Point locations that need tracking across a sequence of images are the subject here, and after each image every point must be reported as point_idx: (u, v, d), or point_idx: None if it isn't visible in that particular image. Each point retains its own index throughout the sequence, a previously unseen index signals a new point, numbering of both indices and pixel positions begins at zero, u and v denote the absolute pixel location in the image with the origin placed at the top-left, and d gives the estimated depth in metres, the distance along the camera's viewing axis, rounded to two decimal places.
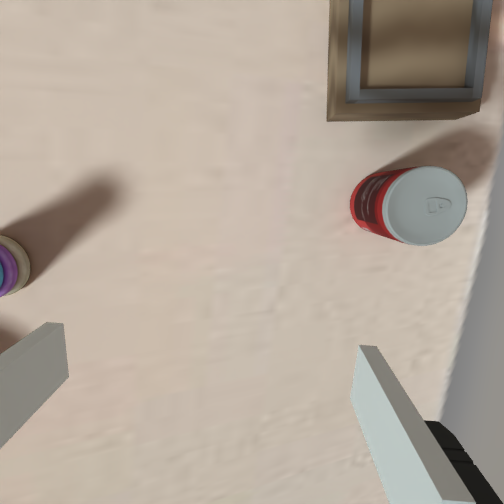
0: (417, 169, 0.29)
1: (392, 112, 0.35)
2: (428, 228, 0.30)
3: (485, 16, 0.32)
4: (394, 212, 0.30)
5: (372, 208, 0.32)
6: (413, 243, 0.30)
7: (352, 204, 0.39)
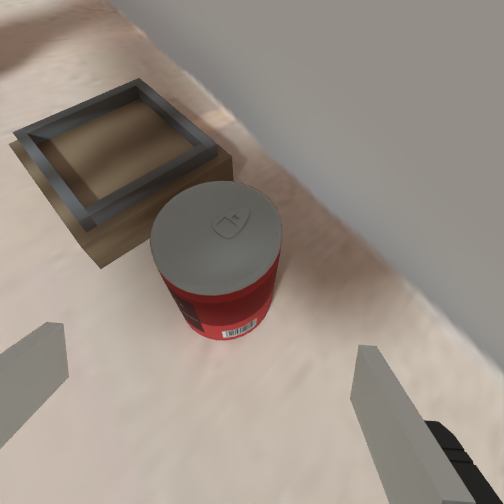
0: (167, 204, 0.19)
1: (147, 207, 0.28)
2: (247, 250, 0.18)
3: (166, 107, 0.32)
4: (181, 265, 0.17)
5: (171, 292, 0.19)
6: (242, 280, 0.17)
7: (187, 321, 0.25)
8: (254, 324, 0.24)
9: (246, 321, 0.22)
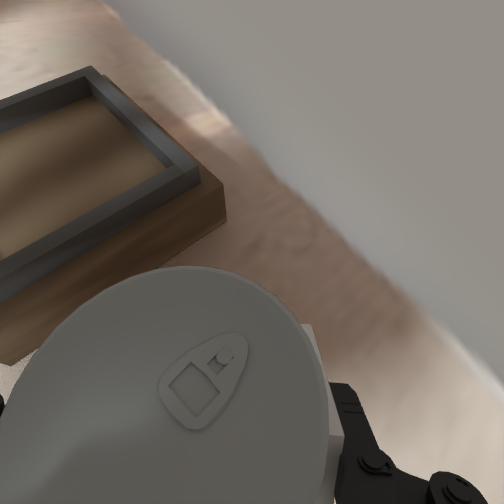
0: (56, 330, 0.08)
1: (82, 271, 0.17)
2: (242, 469, 0.07)
3: (126, 107, 0.22)
4: None
5: None
6: None
7: None
8: None
9: None
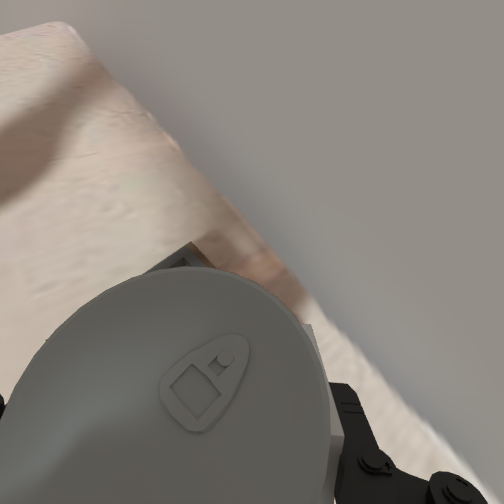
0: (57, 332, 0.08)
1: None
2: (243, 471, 0.07)
3: None
4: None
5: None
6: None
7: None
8: None
9: None
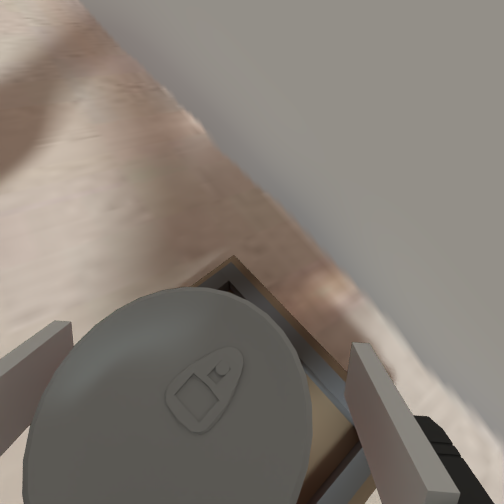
0: (76, 347, 0.09)
1: None
2: (238, 465, 0.08)
3: (289, 335, 0.19)
4: None
5: None
6: None
7: None
8: None
9: None
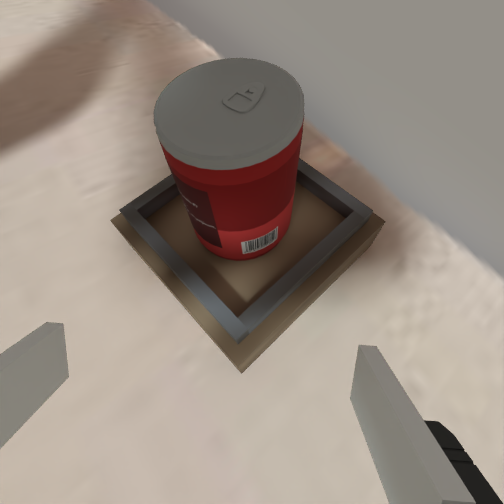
0: (169, 84, 0.17)
1: (302, 302, 0.22)
2: (265, 122, 0.16)
3: None
4: (192, 141, 0.15)
5: (182, 185, 0.17)
6: (263, 147, 0.14)
7: (202, 240, 0.23)
8: (275, 237, 0.22)
9: (267, 227, 0.20)
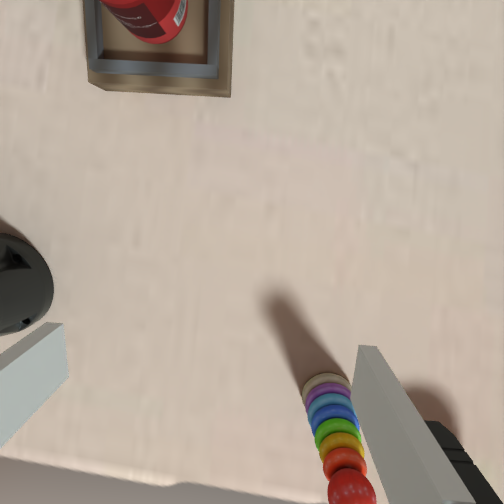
0: None
1: (228, 25, 0.34)
2: None
3: None
4: None
5: (126, 11, 0.27)
6: None
7: (151, 40, 0.33)
8: None
9: None
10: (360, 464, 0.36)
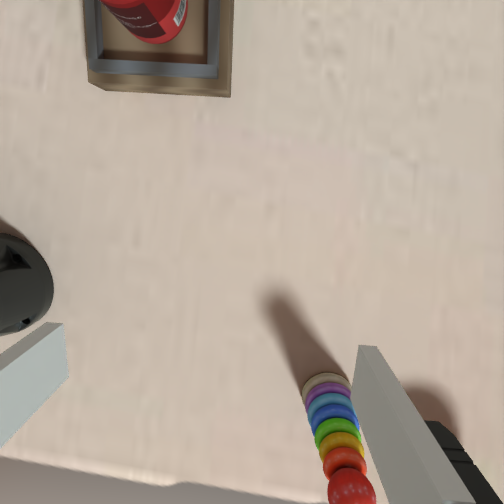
0: None
1: (228, 25, 0.34)
2: None
3: None
4: None
5: (127, 10, 0.27)
6: None
7: (151, 40, 0.33)
8: None
9: None
10: (360, 463, 0.36)
